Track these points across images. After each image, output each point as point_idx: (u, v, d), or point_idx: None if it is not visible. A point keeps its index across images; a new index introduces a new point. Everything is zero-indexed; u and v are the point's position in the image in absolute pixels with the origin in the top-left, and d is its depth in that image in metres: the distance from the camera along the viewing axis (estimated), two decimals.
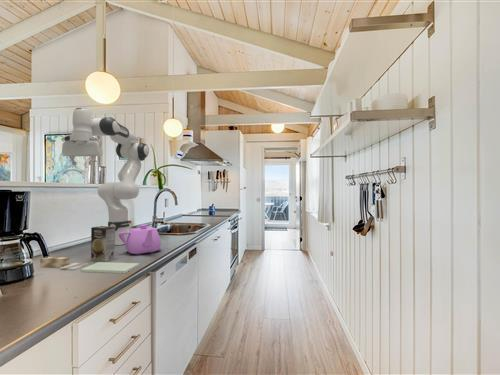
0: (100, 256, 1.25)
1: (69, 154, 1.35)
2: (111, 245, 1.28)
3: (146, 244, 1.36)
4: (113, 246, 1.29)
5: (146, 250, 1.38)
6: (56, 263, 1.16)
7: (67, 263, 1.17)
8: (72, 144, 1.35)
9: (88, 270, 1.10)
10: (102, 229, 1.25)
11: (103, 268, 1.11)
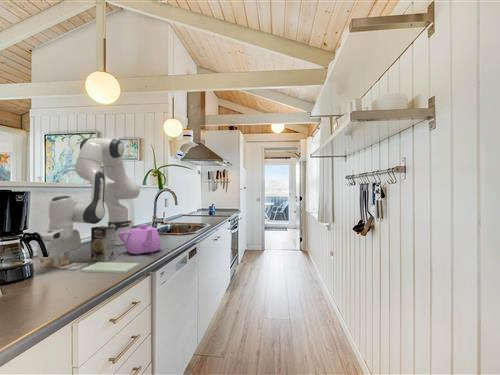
0: (100, 256, 1.25)
1: (53, 254, 1.11)
2: (111, 245, 1.28)
3: (146, 244, 1.36)
4: (113, 246, 1.29)
5: (146, 250, 1.38)
6: None
7: (67, 263, 1.17)
8: (57, 241, 1.13)
9: (88, 270, 1.10)
10: (102, 229, 1.25)
11: (103, 268, 1.11)
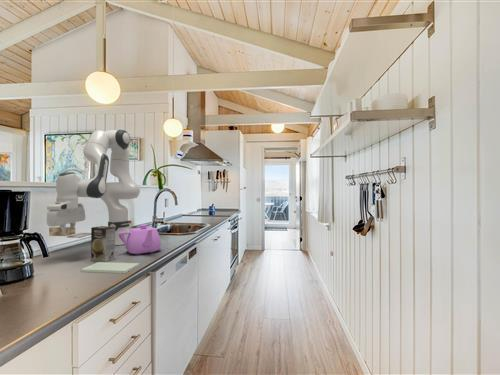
0: (100, 256, 1.25)
1: (61, 223, 1.24)
2: (111, 245, 1.28)
3: (146, 244, 1.36)
4: (113, 246, 1.29)
5: (146, 250, 1.38)
6: None
7: (73, 232, 1.30)
8: (64, 212, 1.25)
9: (88, 270, 1.10)
10: (102, 229, 1.25)
11: (103, 268, 1.11)
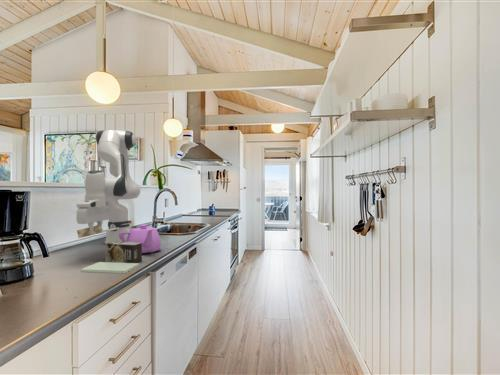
0: (109, 256, 1.24)
1: (90, 221, 1.23)
2: None
3: (146, 244, 1.36)
4: None
5: (146, 250, 1.38)
6: None
7: (100, 229, 1.29)
8: (93, 210, 1.25)
9: (88, 270, 1.10)
10: (132, 260, 1.20)
11: (103, 268, 1.11)
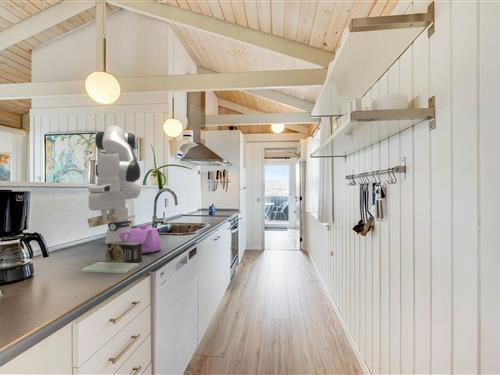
0: (109, 256, 1.24)
1: (103, 208, 1.08)
2: None
3: (146, 244, 1.36)
4: None
5: (146, 250, 1.38)
6: None
7: (115, 217, 1.14)
8: (107, 195, 1.10)
9: (88, 270, 1.10)
10: (132, 260, 1.20)
11: (103, 268, 1.11)
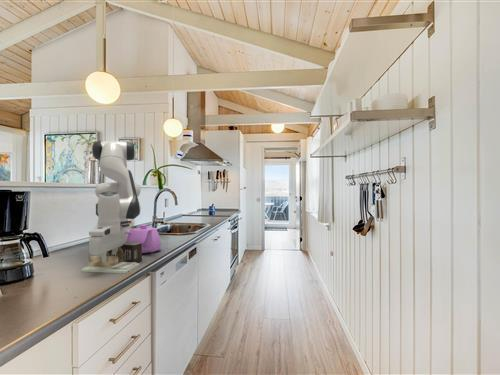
0: None
1: (104, 251, 1.08)
2: None
3: (146, 244, 1.36)
4: None
5: (146, 250, 1.38)
6: (105, 262, 1.13)
7: (116, 262, 1.14)
8: (107, 238, 1.10)
9: (88, 270, 1.10)
10: (132, 260, 1.20)
11: (103, 268, 1.11)
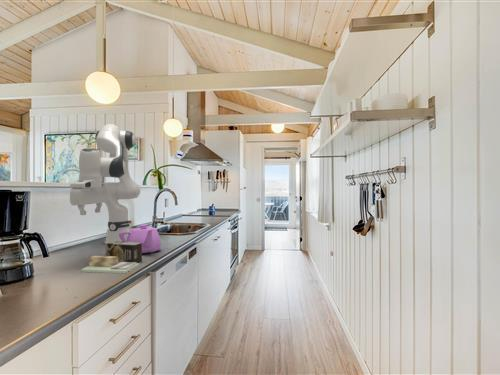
0: None
1: (84, 203, 1.14)
2: None
3: (146, 244, 1.36)
4: None
5: (146, 250, 1.38)
6: (105, 262, 1.13)
7: (116, 262, 1.14)
8: (88, 191, 1.15)
9: (88, 270, 1.10)
10: (132, 260, 1.20)
11: (103, 268, 1.11)
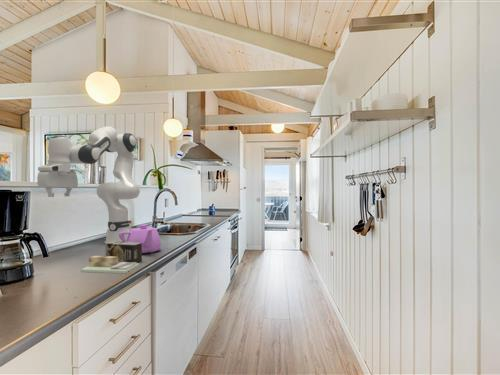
0: None
1: (52, 185, 1.22)
2: None
3: (146, 244, 1.36)
4: None
5: (146, 250, 1.38)
6: (105, 262, 1.13)
7: (116, 262, 1.14)
8: (56, 174, 1.24)
9: (88, 270, 1.10)
10: (132, 260, 1.20)
11: (103, 268, 1.11)
